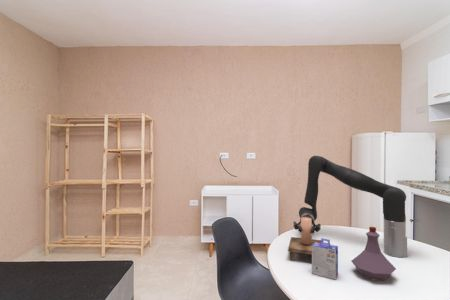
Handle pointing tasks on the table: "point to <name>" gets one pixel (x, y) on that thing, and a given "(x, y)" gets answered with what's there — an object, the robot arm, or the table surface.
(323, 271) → the ink cartridge box
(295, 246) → the walnut stand
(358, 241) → the table surface
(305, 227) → the peach cylinder
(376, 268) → the flask
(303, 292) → the table surface
